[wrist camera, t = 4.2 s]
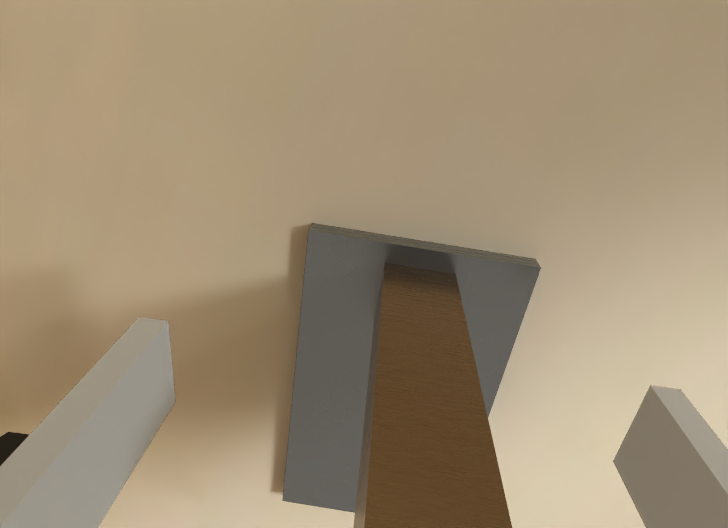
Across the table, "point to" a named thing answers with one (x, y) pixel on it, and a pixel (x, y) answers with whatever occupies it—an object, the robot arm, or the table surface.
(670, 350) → the table surface
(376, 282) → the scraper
